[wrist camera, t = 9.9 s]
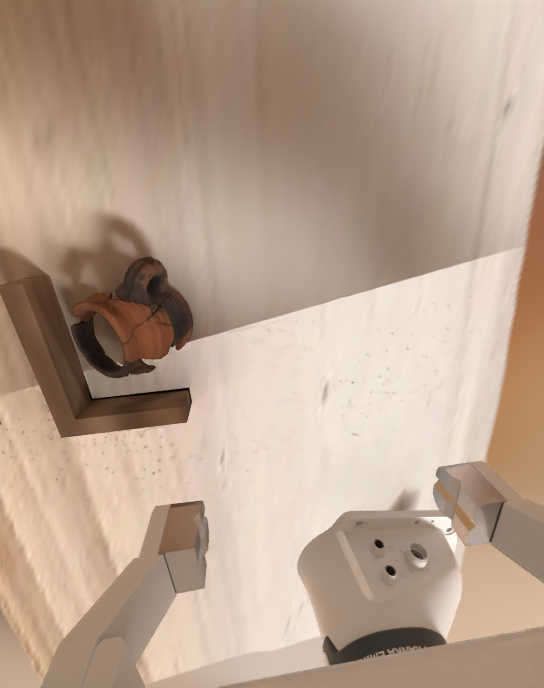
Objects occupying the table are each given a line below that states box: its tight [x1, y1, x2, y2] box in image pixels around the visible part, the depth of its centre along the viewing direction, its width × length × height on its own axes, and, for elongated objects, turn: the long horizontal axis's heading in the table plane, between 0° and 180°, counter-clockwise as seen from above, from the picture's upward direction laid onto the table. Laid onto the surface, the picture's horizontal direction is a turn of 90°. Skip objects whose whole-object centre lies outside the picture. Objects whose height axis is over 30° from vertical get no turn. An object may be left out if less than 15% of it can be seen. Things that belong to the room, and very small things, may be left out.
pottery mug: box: [71, 257, 193, 378], centre depth 29 cm, size 12×9×8 cm
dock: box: [0, 276, 192, 438], centre depth 31 cm, size 13×16×4 cm
